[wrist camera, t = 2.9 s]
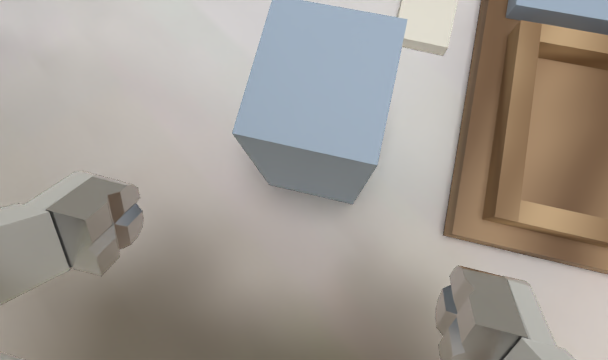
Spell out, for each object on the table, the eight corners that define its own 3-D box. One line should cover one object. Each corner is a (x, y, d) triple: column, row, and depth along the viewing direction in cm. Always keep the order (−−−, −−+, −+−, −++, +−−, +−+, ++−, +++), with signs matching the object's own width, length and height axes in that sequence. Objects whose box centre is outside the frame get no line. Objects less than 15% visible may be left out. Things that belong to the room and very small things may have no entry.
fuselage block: (269, 184, 18) (232, 133, 11) (292, 99, 19) (273, -5, 12) (352, 204, 18) (377, 165, 10) (371, 116, 19) (407, 19, 11)
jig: (443, 235, 17) (462, 232, 15) (486, -30, 20) (507, -67, 18) (699, 295, 16) (764, 302, 14) (704, 5, 19) (756, -29, 17)
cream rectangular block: (389, 48, 20) (393, 36, 19) (403, -9, 21) (408, -24, 20) (440, 59, 20) (448, 47, 19) (453, 1, 21) (461, -14, 20)
